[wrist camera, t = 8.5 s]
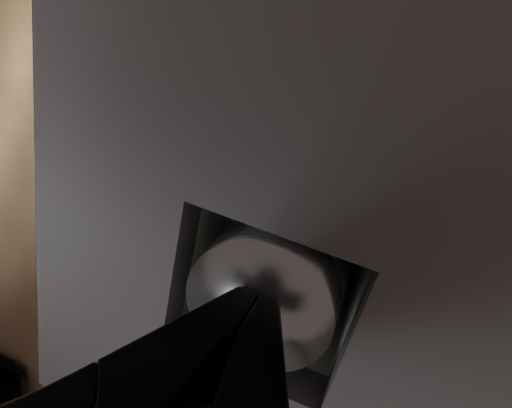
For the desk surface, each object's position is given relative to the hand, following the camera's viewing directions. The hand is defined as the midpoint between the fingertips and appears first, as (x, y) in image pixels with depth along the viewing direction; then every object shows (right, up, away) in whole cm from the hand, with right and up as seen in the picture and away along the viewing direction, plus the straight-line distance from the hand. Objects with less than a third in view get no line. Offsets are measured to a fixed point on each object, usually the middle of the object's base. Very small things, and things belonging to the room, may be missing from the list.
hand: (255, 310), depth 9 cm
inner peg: (+2, +2, +5) cm, 6 cm away
